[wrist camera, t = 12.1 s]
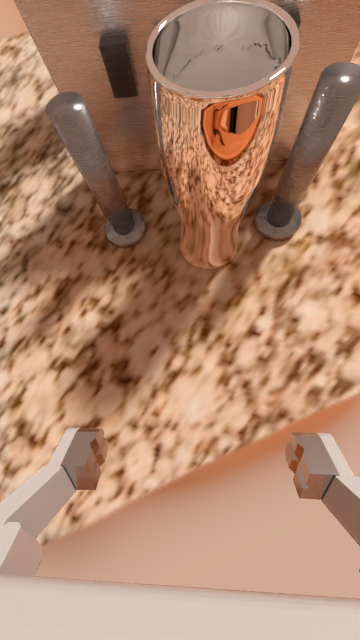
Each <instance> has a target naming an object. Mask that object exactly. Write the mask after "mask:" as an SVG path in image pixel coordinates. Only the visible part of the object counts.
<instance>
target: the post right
mask: <svg viewBox="0 0 360 640" xmlns="http://www.w3.org/2000/svg"><path fill="white" fill-rule="evenodd" d="M359 95H360V66H359V65H357V64H354V63H350V62H338V63H334V64H331V65H329V66H327V67H326V68H325V69H324V70H323V71H322V73H321V75H320V78H319V80H318V83H317V85H316V88H315V91H314V93H313V96H312V98H311V101H310V104H309V106H308V109H307V111H306V114H305V117H304V119H303V122H302V124H301V127H300V130H299V132H298V135H297V137H296V140H295V142H294V145H293V148H292V150H291V153H290V155H289V158H288V161H287V163H286V166H285V168H284V171H283V174H282V176H281V179H280V181H279V184H278V187H277V189H276V192H275V194H274V197H273V199H272V200H270V201H267V202H265V203H264V204H262V205H261V206H260V208H259V209H258V211H257V214H256V217H255V228H256V230H257V232H258V233H259V234H260V235H261V236H262V237H264V238H266V239H268V240H272V241H283V240H286V239H288V238H290V237H291V236H293V235H294V234H295V232H296V231H297V229H298V227H299V226H300V224H301V213H300V211H299V209H298V206H299V204H300V203H301V201H302V199H303V197H304V195H305V193H306V192H307V190H308V188H309V186H310V184H311V182H312V181H313V179H314V177H315V175H316V173H317V172H318V170H319V168H320V166H321V164H322V162H323V161H324V159H325V157H326V155H327V153H328V151H329V150H330V148H331V146H332V144H333V142H334V141H335V139H336V137H337V135H338V133H339V131H340V130H341V128H342V126H343V124H344V122H345V120H346V119H347V117H348V115H349V113H350V111H351V109H352V108H353V106H354V104H355V102H356V100H357V99H358V97H359Z"/></svg>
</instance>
